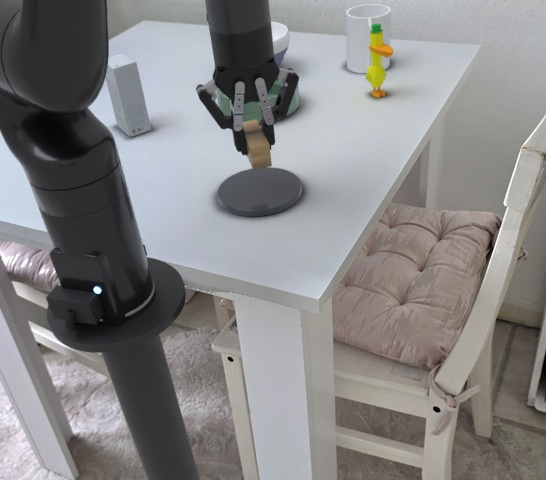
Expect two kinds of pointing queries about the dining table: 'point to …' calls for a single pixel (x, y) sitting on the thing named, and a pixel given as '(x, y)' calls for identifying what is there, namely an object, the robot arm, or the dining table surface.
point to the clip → (256, 145)
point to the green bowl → (253, 108)
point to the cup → (365, 35)
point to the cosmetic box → (127, 95)
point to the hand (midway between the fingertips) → (255, 149)
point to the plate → (259, 191)
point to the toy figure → (377, 59)
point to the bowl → (279, 41)
